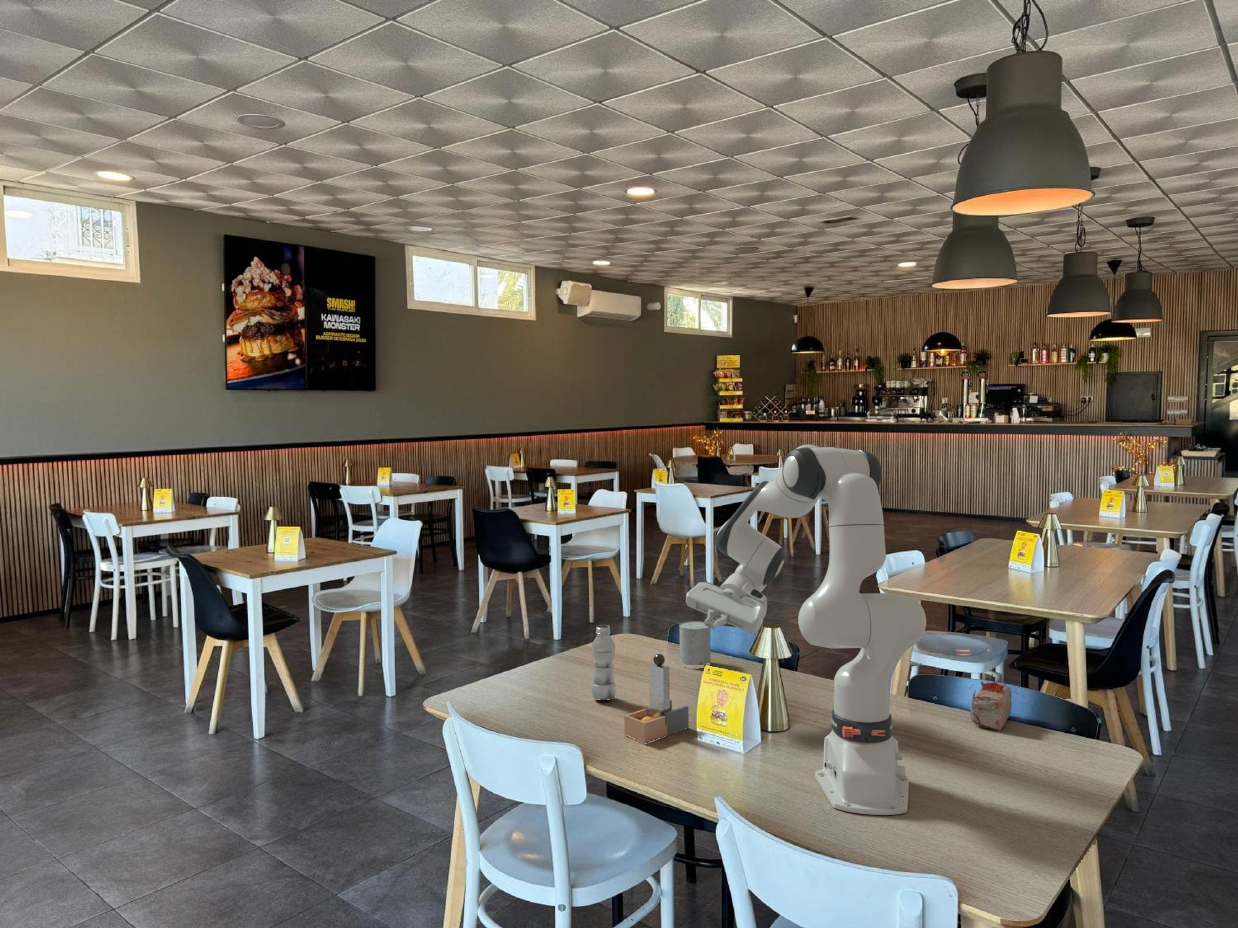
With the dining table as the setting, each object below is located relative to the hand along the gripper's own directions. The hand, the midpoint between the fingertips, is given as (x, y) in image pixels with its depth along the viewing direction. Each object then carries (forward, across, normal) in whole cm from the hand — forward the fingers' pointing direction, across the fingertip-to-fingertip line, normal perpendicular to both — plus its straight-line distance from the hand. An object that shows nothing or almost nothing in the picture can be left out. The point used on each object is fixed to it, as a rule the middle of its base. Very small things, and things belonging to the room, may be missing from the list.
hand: (709, 625), depth 204 cm
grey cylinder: (-25, -18, +45) cm, 55 cm away
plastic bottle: (+13, -24, +30) cm, 40 cm away
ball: (+23, -3, +15) cm, 28 cm away
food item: (-29, +63, +22) cm, 73 cm away
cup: (+25, -2, +17) cm, 30 cm away
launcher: (+18, 0, +20) cm, 27 cm away
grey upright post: (+20, -2, +16) cm, 25 cm away
